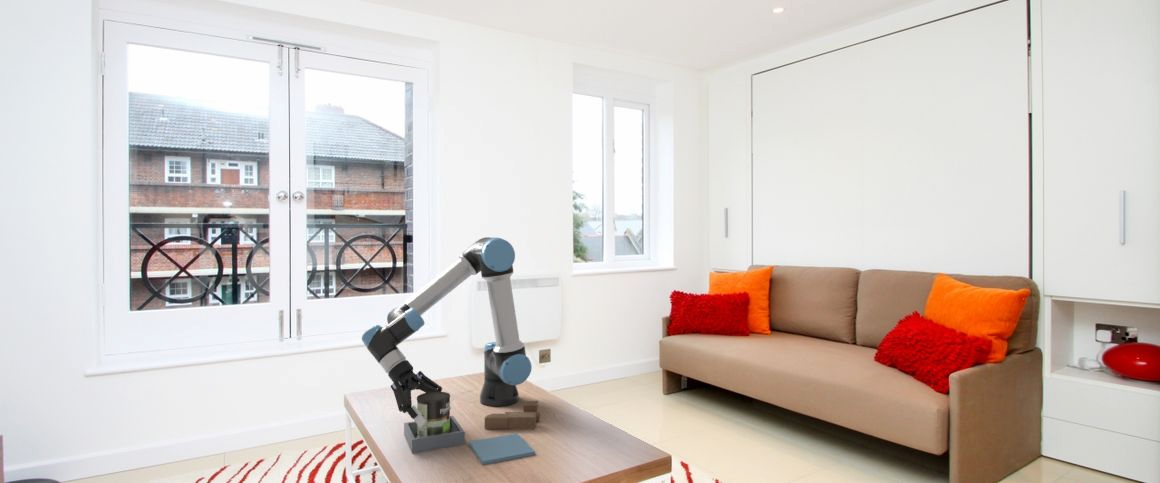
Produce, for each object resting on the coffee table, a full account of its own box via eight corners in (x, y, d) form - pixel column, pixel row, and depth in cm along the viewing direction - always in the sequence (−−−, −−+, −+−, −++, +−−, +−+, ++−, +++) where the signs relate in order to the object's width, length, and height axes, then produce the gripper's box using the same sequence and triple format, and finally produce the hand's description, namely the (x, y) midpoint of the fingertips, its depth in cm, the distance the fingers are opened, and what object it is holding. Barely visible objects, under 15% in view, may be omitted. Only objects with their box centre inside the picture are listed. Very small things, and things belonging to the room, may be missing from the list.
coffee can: (455, 434, 178) (455, 392, 178) (441, 447, 168) (441, 402, 167) (426, 432, 180) (426, 390, 180) (410, 444, 170) (410, 399, 169)
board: (517, 436, 177) (517, 433, 177) (535, 454, 162) (535, 451, 162) (468, 444, 170) (468, 441, 170) (482, 464, 155) (482, 461, 155)
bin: (453, 427, 185) (453, 415, 184) (464, 444, 170) (464, 431, 170) (404, 435, 178) (404, 422, 177) (411, 453, 163) (411, 440, 163)
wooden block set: (537, 414, 183) (484, 414, 182) (537, 430, 183) (484, 431, 183) (540, 398, 200) (491, 398, 199) (540, 413, 200) (491, 413, 200)
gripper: (413, 365, 190) (450, 412, 186) (363, 384, 167) (404, 439, 162) (426, 351, 188) (464, 398, 184) (377, 368, 165) (419, 423, 160)
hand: (436, 417), depth 173 cm, fingers open, 13 cm apart
